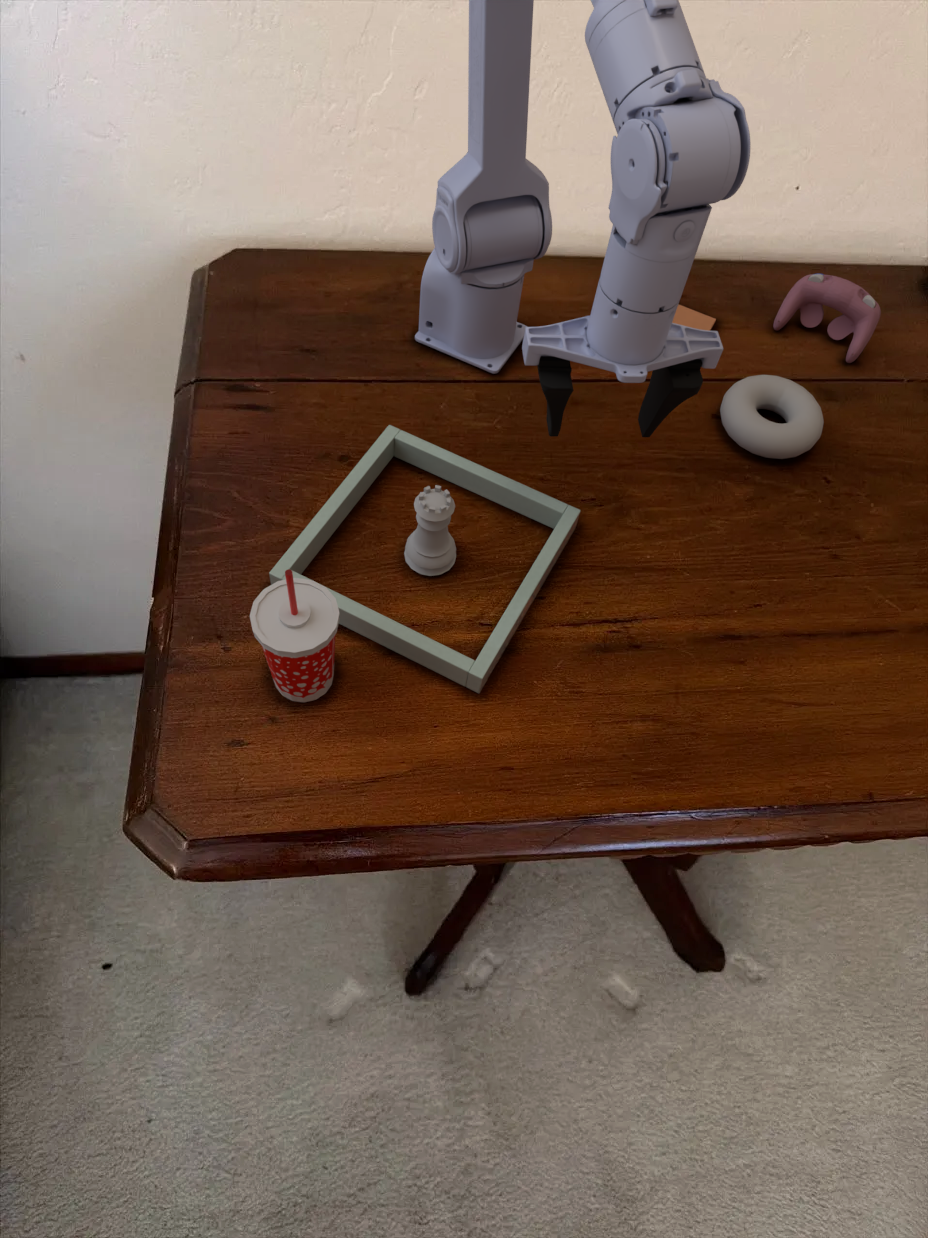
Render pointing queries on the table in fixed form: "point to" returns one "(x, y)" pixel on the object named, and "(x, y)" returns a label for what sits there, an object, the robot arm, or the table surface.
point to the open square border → (464, 476)
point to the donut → (764, 433)
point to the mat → (693, 319)
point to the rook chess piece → (432, 533)
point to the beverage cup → (297, 635)
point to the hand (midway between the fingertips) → (598, 427)
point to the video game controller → (840, 296)
